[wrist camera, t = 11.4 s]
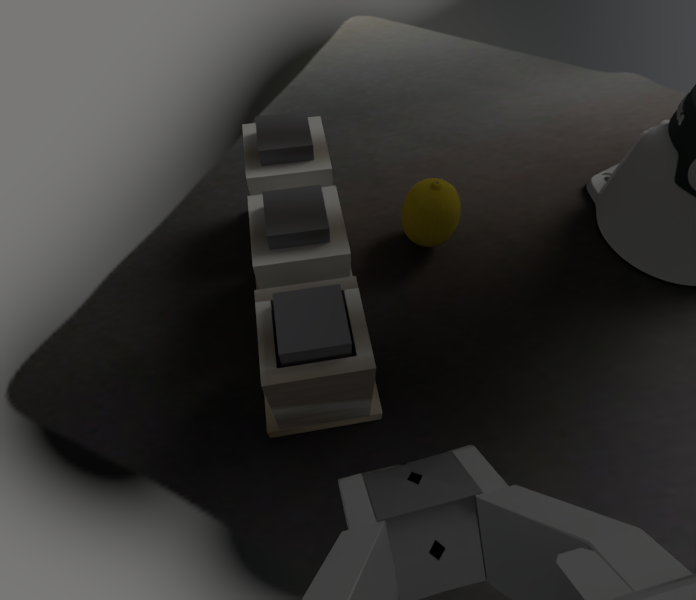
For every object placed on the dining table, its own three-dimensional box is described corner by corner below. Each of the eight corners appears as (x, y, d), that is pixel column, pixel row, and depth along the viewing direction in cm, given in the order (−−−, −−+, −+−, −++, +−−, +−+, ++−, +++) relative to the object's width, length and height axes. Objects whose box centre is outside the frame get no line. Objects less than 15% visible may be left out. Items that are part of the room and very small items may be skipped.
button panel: (252, 209, 49) (227, 110, 39) (334, 199, 50) (330, 99, 39) (269, 438, 36) (239, 379, 25) (381, 419, 36) (394, 354, 26)
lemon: (457, 259, 45) (476, 202, 38) (402, 265, 45) (412, 207, 38) (444, 218, 48) (459, 158, 41) (393, 223, 48) (400, 163, 41)
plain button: (284, 339, 34) (272, 293, 29) (341, 331, 35) (340, 283, 29) (290, 394, 32) (278, 354, 27) (351, 384, 32) (351, 343, 27)
